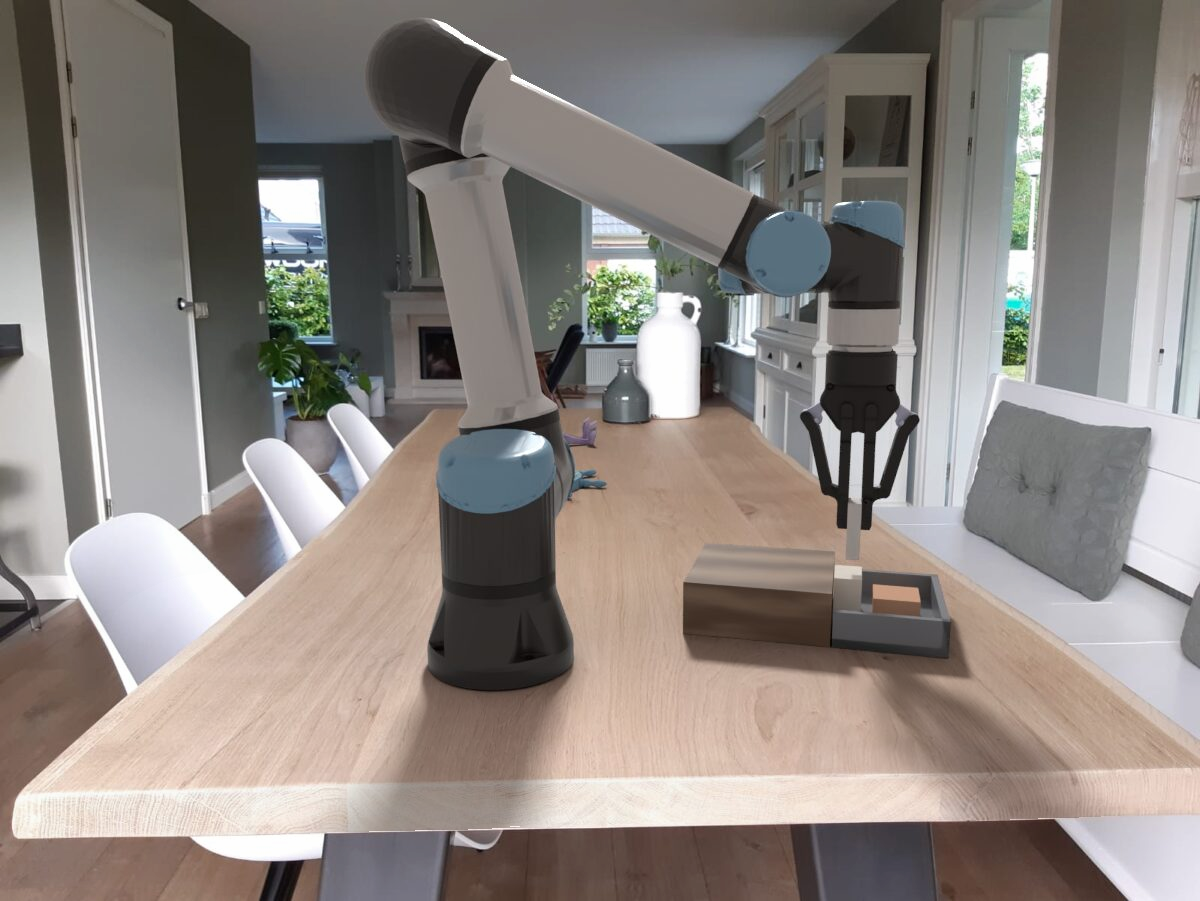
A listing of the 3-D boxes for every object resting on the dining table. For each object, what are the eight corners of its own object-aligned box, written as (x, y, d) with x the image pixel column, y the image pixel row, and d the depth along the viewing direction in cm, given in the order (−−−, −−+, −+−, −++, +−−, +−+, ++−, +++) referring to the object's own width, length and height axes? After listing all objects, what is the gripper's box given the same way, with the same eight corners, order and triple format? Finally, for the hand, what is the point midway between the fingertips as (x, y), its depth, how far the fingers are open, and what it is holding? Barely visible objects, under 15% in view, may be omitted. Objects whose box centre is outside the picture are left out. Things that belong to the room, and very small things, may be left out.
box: (948, 658, 95) (950, 621, 95) (831, 647, 98) (833, 611, 98) (935, 606, 111) (937, 574, 110) (834, 598, 114) (835, 567, 113)
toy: (609, 426, 211) (480, 417, 201) (605, 465, 212) (476, 459, 203) (577, 411, 235) (461, 403, 226) (574, 446, 237) (458, 440, 227)
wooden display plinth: (829, 647, 99) (831, 593, 97) (682, 633, 103) (683, 581, 102) (833, 598, 114) (835, 551, 113) (704, 587, 118) (705, 542, 117)
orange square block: (873, 598, 102) (871, 624, 102) (920, 602, 100) (919, 628, 101) (872, 584, 107) (871, 608, 107) (918, 587, 105) (916, 612, 106)
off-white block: (832, 620, 104) (860, 622, 103) (834, 577, 103) (862, 580, 102) (833, 605, 108) (859, 607, 107) (835, 564, 107) (861, 566, 107)
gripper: (922, 346, 102) (910, 551, 106) (802, 345, 105) (795, 543, 109) (927, 351, 95) (914, 570, 99) (798, 350, 98) (791, 562, 102)
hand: (852, 556), depth 104 cm, fingers closed
